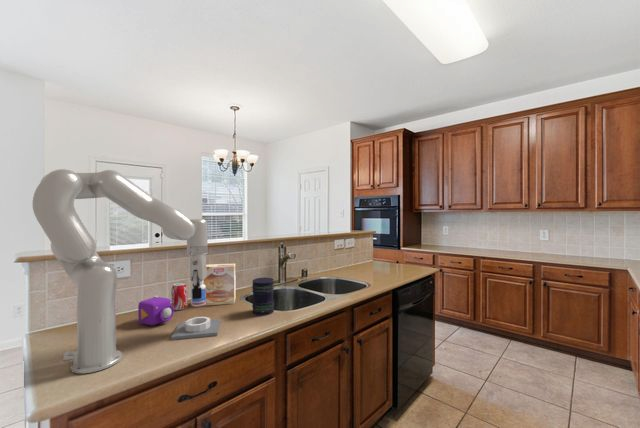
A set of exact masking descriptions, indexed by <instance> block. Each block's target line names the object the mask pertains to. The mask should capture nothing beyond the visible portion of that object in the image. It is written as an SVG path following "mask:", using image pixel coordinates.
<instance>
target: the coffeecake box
mask: <svg viewBox="0 0 640 428" xmlns="http://www.w3.org/2000/svg"><path fill="white" fill-rule="evenodd" d="M206 266H207V276H206V278H205V279H204V283H203V284H204V285H205V286H206V304H204V305H203V306H217V305H219V306H221V305H234V304H235V302H236V298H237V297H236V292H237V291H236V287H237V285H236V280H237V279H236V263H216V264H215V263H211V264H210V263H209V264H207V263H206Z"/></svg>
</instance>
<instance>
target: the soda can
mask: <svg viewBox="0 0 640 428" xmlns="http://www.w3.org/2000/svg"><path fill="white" fill-rule="evenodd" d="M187 285H188V284H187V283H186V282H184V281H183V282H174V283H173V284H172V287H171V291H170V292H171V296H170V297H171V299H170V301H171V306H173V308H174V311H183V310H185V309H186V308H188V305H189V303H188V302H189V301H188V300H189V298H188V296H189V293H188V291H189V290H188V289H189V288H188V286H187Z"/></svg>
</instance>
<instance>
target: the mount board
mask: <svg viewBox="0 0 640 428" xmlns="http://www.w3.org/2000/svg"><path fill="white" fill-rule="evenodd" d="M221 323H222V318H219V319H218V318H216V319H211V318H210V317H208V316H195V317H191V318H189V319H187V320H185V321H183V322H182V321H181V322H179V323H178V325H177V327H176V328H175V330H174V332H173V333H172V334H171V336H170V340H171V341H176V340H185V339H186V340H187V339H197V338H207V337H217V336H218V334H219V330H220V326H221Z"/></svg>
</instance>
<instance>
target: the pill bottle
mask: <svg viewBox="0 0 640 428" xmlns="http://www.w3.org/2000/svg"><path fill="white" fill-rule="evenodd" d="M197 280H199V279H197ZM198 283H199V282H198ZM200 288H201V294H202V297H201V298H199V299H193V298H192V286H191V287H190V303H191V306H192V307H201V306H204V304H206V286H205V285H204V280H201V287H200Z"/></svg>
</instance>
